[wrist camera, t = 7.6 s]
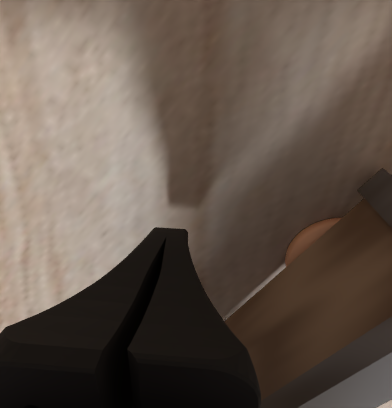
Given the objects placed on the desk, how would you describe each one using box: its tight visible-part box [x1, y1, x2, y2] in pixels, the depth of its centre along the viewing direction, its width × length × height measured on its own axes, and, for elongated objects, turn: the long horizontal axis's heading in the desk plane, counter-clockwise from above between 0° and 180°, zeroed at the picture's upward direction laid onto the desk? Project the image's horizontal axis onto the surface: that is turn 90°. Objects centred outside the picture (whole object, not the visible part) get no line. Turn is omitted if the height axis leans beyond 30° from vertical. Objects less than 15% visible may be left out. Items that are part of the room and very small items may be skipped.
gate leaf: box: [225, 168, 392, 408], centre depth 12 cm, size 15×2×6 cm, turn 145°
